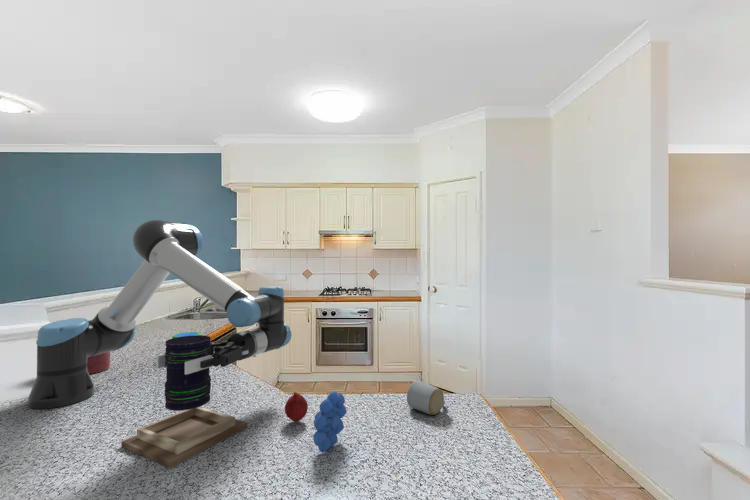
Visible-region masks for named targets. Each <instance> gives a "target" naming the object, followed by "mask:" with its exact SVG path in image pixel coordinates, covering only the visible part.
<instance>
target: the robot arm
mask: <svg viewBox="0 0 750 500" xmlns="http://www.w3.org/2000/svg"><path fill="white" fill-rule="evenodd" d="M132 244H133V247H134V250H135V251H136V253H137V254H138V255H139V256H140V257H141V258H142V259H143V261H142V263H141V264H140V265H139V267H138V268H137V269H136V270H135V272H134V273H133V275H131V276H130V279H129V280H128V282H126V284H125V285H124V286H123V288H122V289H121V290H120V291H119V293H118V294H117V296H116V297H115V298H114V299H113V301H112V302H111V303H110V304H109V306H107V307H106V306H105V307H103V308H101V309H100V310H99V311H98V313H97V314H96V315H95V316H94V318H92V319H91V320H88V319H86V318H84V317H75V318H74V317H72V318H67V319H61V320H56V321H53V322H50V323H47V324H45V325H43V326H41V327H40V328H39V329H38V331H37V337H36V343H35V344H36V349H37V350H36V378H35V381H34V383H33V385H32V389H31V390H30V393H29V396H28V398H27V406H28V408H30V409H33V410H35V409H36V410H37V409H38V410H39V409H40V410H43V409H44V410H46V409H53V408H60V407H64V406H68V405H73V404H77V403H79V402H82V401H85V400H87V399H90V398H91V397H92V396H94V394H95V385H94V382H93V380H92V378H91V374H89V372H88V370H87V358H88V357H92V356H95V355H99V354H103V353H106V352H110V353H111V352H114V351H117V350H121V349H122V348H124V347H126V346H127V345H129V344H130V343H131V342H132V341H133V339H134V337H135V336H136V331H135V330H137V329H136V320H135V319H136V318H137V316H138V315H139V313H141V312H142V310H143V309H144V308H145V306H146V305H147V303H149V301H150V300H151V298H152V297H153V296H154V295H155V293H156V292H157V290H158V289H159V288H160V287H161V286H162V284H163V282H165V280H166V279H167V278H168V277H169V275H170V274H171V275H173V276H174V277H175V278H178V280H180V281H181V282H183V283H185V284H186V285H187V286H189V287H190V288H191V289H193V290H194V291H196V292H197V293H198V294H200V295H202V297H204V298H206V299H207V300H208V301H210V302H211V303H213V304H214V305H216V306H217V307H218V308H220V309H221V310H222V311H224V312H225V313H226V317H227V320H228V322H229V323H230V324H231V325H232V326H233V327H236V328H246V327H250V326H254V325H255V324H258V327H256V328H252V329H247V330H242V331H239V332H235V333H232V334H231V335H230V336H229V338H228V339H227V340H223V341H220V342H217V341H215V340H213V341H210V347H211V353H210V354H211V355H208V356H204V357H201V358H197V359H193V360H190V361H186V362H185V374H186V375H187V374H190V373H193V372H197V371H200V370H203V369H206V368H209V369H210V368H212V367H218V366H220V367H222V368H225V367H227V366H229V365H231V364H233V363H235V362H238V361H242V360H246V359H248V358H251V357H252V358H257V356H258V355H260V354H263V353H267V352H271V351H274V350H279V349H280V348H282V347H285V346H286V345H288V344H289V343H290V341H291V339H292V335H293V334H292V330H291V327H290V326H289V325H288V324H287V323H285V293H284V292H285V290H284V287H282V286H280V285H279V286H278V285H277V286H276V285H270V286H269V285H267V286H261V287H259V289H258V294H257V295H252V294H251V293H249V292H247V291H246V290H245V289H244V288H242V287H240V286H239V285H238V284H236V283H235V282H233V281H232V280H230V278H228V277H226V276H225V275H224V274H222V273H220V272H219V271H217V270H216V269H214V268H213V267H212V266H210V265H208V264H207V263H206V262H204V261H203V260H201V259H200V258H198V257H197V256H199V255H200V254H201V253H202V250H203V247H204V241H203V235H202V232H201V231H200V229H198V228H197V227H196V226H194V225H192V224H189V223H186V222H175V221H167V220H162V219H153V220H148V221H145V222H143V223H141V225H138V227H137V228H136V229H135V231H134V234H133V236H132ZM155 359H156V362H155V364H156V366H155V368H157V369H160V368H163V367H166V366H165V353H164V354H159V355H156V358H155Z"/></svg>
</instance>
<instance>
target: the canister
mask: <svg viewBox="0 0 750 500" xmlns="http://www.w3.org/2000/svg"><path fill="white" fill-rule="evenodd" d="M111 362H112V361H111V351H110V352H106V353H103V354H99V355H95V356H92V357H88V358H87V370H88V372H89V375H94V374H98V373H101V372H105V371H107V370H109V369H110V367H111Z"/></svg>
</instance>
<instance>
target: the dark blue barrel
mask: <svg viewBox="0 0 750 500" xmlns="http://www.w3.org/2000/svg"><path fill="white" fill-rule="evenodd" d="M211 340H212V339H211V336H209V335H203V334H201V335H194V336H183V337H177V338H173V339H172V338H170V339H167V340H166V341H165V352H164V354H165V366H164V367H166V380H165V383H164V386H163V387H164V397H165V398H164V399H165V402H164V406H165V409H166V410H168V411H174V412H175V411H176V412H181V411H184V410H189V409H194V408H197V407H203V406H205V405H206V404H208V403H209V402H210V401H211V395H210V394H211V389H212V383H211V381H212V377H211V375H210V368H206V369H203V370H200V371H197V372H193V373H190V374H187V375H186V374H185V362H186V361H190V360H193V359H197V358H201V357H204V356H208V355H211V354H210V353H211V347H210V342H212V341H211Z"/></svg>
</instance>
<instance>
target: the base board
mask: <svg viewBox="0 0 750 500" xmlns="http://www.w3.org/2000/svg"><path fill="white" fill-rule="evenodd" d="M248 424H249V423H248V422H247V421H244V420H240V419H238V418H236V416H234V415H233V416H232V415H229V414H226V413H223V412H220V411H219V412H218V411H215V410H212V409H208V408H206V407H203V406H200V407H197V408H194V409H189V410H183V411H178V412H177V413H175V414H172V415H169V416H167V417H163V418H162V419H160V420H156V421H155V422H151V423H149V424H147V425H144V426H142V427H139V428H137V429H136V435H133V436H131V437H128V438H126V439H123V440H122V441H120V443H121V445H120V446H121V448H124V449H126V450H128V451H130V452H133V453H135V454H137V455H138V456H141V457H144V458H146V459H149V461H150V460H151V461H153V462H155V463H157V464H160V465H161V466H164V467H165V468H169V469H172V468H174V467H176V466H177V465H179V464H181V463H184V462H185V461H187V460H189V459H191V458H193V457H195V456H196V455H198V454H200V453H202V452H204V451H206V450H208V449H210V448H211V447H213V446H215V445H217V444H219V443H222V441H224V440H226V439H228V438H231V437H232V436H233V435H236V434H238V433H239V431H240V432H241V431H244V430H245V429H247V428H248ZM237 432H238V433H237ZM235 433H236V434H235Z"/></svg>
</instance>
